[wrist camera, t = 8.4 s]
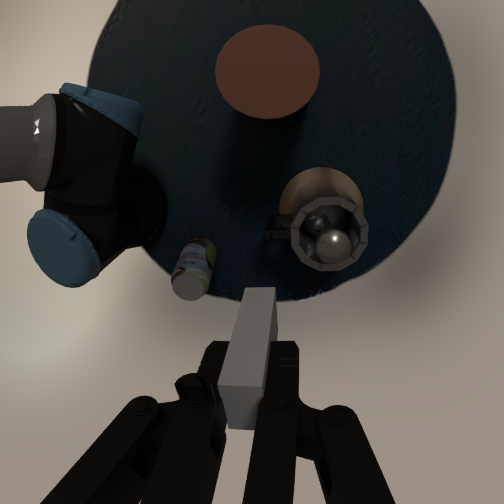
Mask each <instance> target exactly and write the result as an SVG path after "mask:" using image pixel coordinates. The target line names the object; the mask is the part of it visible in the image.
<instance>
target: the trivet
mask: <svg viewBox="0 0 504 504" xmlns="http://www.w3.org/2000/svg"><path fill="white" fill-rule="evenodd" d="M312 180H331V181H333V182H335V183H336V184H338V185H340V186H342V187H344V188H345V190H346V191H347V192H348V194H349V195H350V196H351V198H352V199H353V200H354V202H355V203H356V204H357V206H358V207H359V209H360V210H361V212H362V214H363V200H362V196H361V193H360V191H359V189H358V187H357V186H356V184H355V183H354V182H353V181H352V180H351V179H350V178H349V177H348V176H347V175H345V174H344V173H342V172H340V171H338V170H335V169H332V168H327V167H316V168H311V169H308V170H305V171H303V172H301V173H299V174H298V175H296V176H295V177H294V178H293V179H292V180H290V182H289V183H288V184H287V185H286V187H285V189H284V191H283V193H282V196H281V199H280V206H279V212H280V214H291V203H292V201H293V199H294V197H295V195H296V193H297V191H298V189H299V188H301V187H303V186H304V185H306V184H307V183H309V182H311V181H312ZM283 227H284V228H289V227H291V223H283Z"/></svg>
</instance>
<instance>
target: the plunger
mask: <svg viewBox="0 0 504 504" xmlns="http://www.w3.org/2000/svg"><path fill="white" fill-rule="evenodd" d="M345 220H346V213H345V210H344V208H343V207H341V206H340V205H321V206H319V207H318V208H316V209H314V210H313V211H311V212H310V213H308V214H306V216H305V218H304V220H303V223H304V225H305V227H306V229H307V230H308V231H309V232H310V233H311V234H312V235H314V236H316V237H318V238H317V241H316V248H317V253H318V256H319V257H320V259H321V260H322V261H324V262H325V263H328V264H338V263H341V262H343V261H344V260H345V259H346V258H347V257H348V256H349V254H350V251H351V244H350V241H349V239H348V236H347V235H346V233H345V232H343V231H342V230H341V229H342V228H343V226H344V224H345Z"/></svg>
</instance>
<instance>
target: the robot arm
mask: <svg viewBox="0 0 504 504" xmlns="http://www.w3.org/2000/svg"><path fill="white" fill-rule="evenodd" d="M59 93H60V94H44V95H43V96H42V97H41V98H40V99H39V100H38V101H37V102H36V103H34V104H33V105H31V106H2V107H0V183H3V182H12V181H20V180H24V181H27V183H28V184H30V186H31V187H32V188H33V189H34V190H35V191H39V192H41V191H45V194H44V207H43V209H41V210H39V211H37V212H36V213H35V215H34V216H33V218H31V219H30V221H29V224H28V228H27V239H28V245H29V248H30V251H31V253H32V255H33V257H34V259H35V261H36V263H37V264H38V265H39V267H40V268H41V270H42V271H43V272H44V273H45V274H46V275H47V276H48V277H49V278H50V279H52V280H53V281H54V282H56V283H58V284H60V285H63V286H65V287H70V288H76V287H80V286H83V285H85V284H86V283H87V282H89V281H90V280H91V279H94V278H96V277H97V276H98V275H99V273H100V272H101V271H102V270H103V269H104V268H105V267H106V266H108V264H110V263H111V262H112V261H113V260H114V259H115V258H117V257H118V256H119V255H120V254H121V253H122V252H123V251H125V250H126V249H129V248H134V247H139V246H143V245H145V244H147V243H148V242H150V241H151V240H152V239H154V238H155V237H156V236H157V235H158V234H159V233H160V231H161V230H162V228H163V226H164V224H165V222H166V218H167V200H166V196H165V193H164V190H163V188H162V186H161V185H160V183H159V182H158V180H157V179H156V178H155V177H154V176H153V175H152V174H151V173H149V172H148V171H146V170H145V169H143V168H140V167H137V166H132V161H133V157H134V152H135V148H136V144H137V140H138V139H140V134H139V132H140V128H141V123H142V119H143V109H142V107H141V105H140V104H139V103H138V102H136V101H133V100H130V99H127V98H124V97H121V96H117V95H114V94H110V93H107V92H103V91H99V90H95V89H91V88H87V87H84V86H80V85H76V84H71V83H64V84H63V85H62V87H61V88H60V89H59ZM277 335H278V324H277V308H276V292H275V287H264V288H245V291H244V295H243V298H242V301H241V305H240V308H239V312H238V315H237V319H236V322H235V326H234V329H233V333H232V336H231V339H230V341H213V342H212V343H211V344H210V345H209V346H208V347H207V348H206V350H205V353H204V355H203V358H202V361H201V365H200V366H199V369H198V371H197V373H189V374H186V375H183V376H182V377H181V378H179V379H178V380H177V381H176V383H175V387H176V390H177V393H178V395H179V398H180V399H179V400H177V401H172V402H166V403H157V401H156V400H155V399H154V398H152V397H150V396H139V397H136V398H134V399H132V400H131V401H130V402H129V403H128V404H127V405H126V406H125V407H124V408H123V410H122V411H121V412H120V413H119V414H118V415H117V416H116V418H115V419H114V420H113V421H112V422H111V424H110V425H109V426H108V427H107V428H106V429H105V430H104V431H103V433H102V434H101V435H100V436H99V437H98V438H97V439H96V441H95V442H94V443H93V444H92V445H91V446H90V448H89V449H88V450H87V451H86V452H85V453H84V454H83V456H82V457H81V458H80V459H79V460H78V461H77V462H76V463H75V465H74V466H73V467H72V468H71V469H70V470H69V472H68V473H67V474H66V475H65V476H64V477H63V478H62V479H61V480H60V482H59V483H58V484H57V485H56V486H55V487H54V489H53V490H52V491H51V492H50V493H49V494H48V495H47V496H46V498H45V499H44V500H43V501H42V502H41V503H40V504H139V502H140V501H141V503H140V504H212V500H213V496H214V492H215V487H216V483H217V479H218V474H219V470H220V466H221V461H222V457H223V453H224V448H225V444H226V433H225V429H226V424H228V427H229V429H242V430H255V432H254V438H253V445H252V451H251V457H250V463H249V469H248V474H247V480H246V485H245V491H244V497H243V502H242V504H293V496H294V483H295V467H296V456H299V457H302V458H305V459H309V460H313V461H314V464H315V467H316V470H317V474H318V477H319V481H320V484H321V488H322V491H323V494H324V497H325V501H326V504H395V501H394V499H393V497H392V494H391V492H390V490H389V487H388V485H387V483H386V480H385V478H384V476H383V473H382V471H381V469H380V466H379V464H378V462H377V460H376V457H375V455H374V453H373V450H372V449H371V446H370V444H369V441H368V439H367V437H366V435H365V432H364V430H363V428H362V426H361V424H360V421H359V419H358V417H357V415H356V414H355V413H354V411H353V410H352V409H350V408H348V407H347V406H342V405H334V406H330V407H328V408H325V409H324V410H318V409H314V408H311V407H309V406H307V405H305V404H304V403H303V402H302V401H301V400H300V398H299V348H298V346H297V345H296V343H295V341H277Z"/></svg>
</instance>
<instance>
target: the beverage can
mask: <svg viewBox="0 0 504 504" xmlns="http://www.w3.org/2000/svg"><path fill="white" fill-rule="evenodd" d="M216 257H217V249H216V247H215V245H214V243H213V242H212V241H210V240H209V239H207V238H204V237H193V238H191V239H189V240H188V241H187V242H186V244H185V246H184V248H183V250H182V252H181V255H180V257H179V259H178V262H177V264H176V266H175V269H174V271H173V273H172V276H171V284H172V287H173V291H174V292H175V294H176V295H177V296H179V297H180V298H182V299H184V300H188V301H193V300H197V299H199V298H200V297H201V296H203V295H204V294H205V293H206V292H207V290H208V288H209V285H210V281H211V277H212V273H213V269H214V265H215V261H216Z"/></svg>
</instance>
